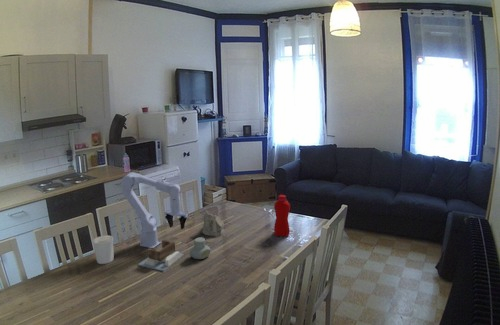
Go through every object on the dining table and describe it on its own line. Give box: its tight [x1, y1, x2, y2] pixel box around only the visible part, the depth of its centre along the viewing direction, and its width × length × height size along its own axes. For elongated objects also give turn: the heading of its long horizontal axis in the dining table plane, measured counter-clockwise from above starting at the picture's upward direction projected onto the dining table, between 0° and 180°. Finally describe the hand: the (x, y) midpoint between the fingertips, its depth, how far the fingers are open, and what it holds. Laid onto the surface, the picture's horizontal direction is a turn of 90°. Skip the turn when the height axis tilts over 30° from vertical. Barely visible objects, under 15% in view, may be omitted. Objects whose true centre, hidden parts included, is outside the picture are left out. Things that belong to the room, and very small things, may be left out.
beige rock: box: [201, 210, 226, 238], centre depth 214 cm, size 16×16×15 cm
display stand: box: [137, 248, 185, 273], centre depth 178 cm, size 16×18×4 cm
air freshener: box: [189, 236, 211, 260], centre depth 181 cm, size 11×8×10 cm
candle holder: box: [92, 234, 115, 265], centre depth 178 cm, size 10×10×12 cm
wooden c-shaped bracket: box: [147, 239, 176, 261], centre depth 178 cm, size 8×12×5 cm, turn 154°
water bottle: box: [273, 194, 293, 237], centre depth 207 cm, size 9×11×25 cm
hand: (176, 227), depth 195 cm, fingers open, 7 cm apart
